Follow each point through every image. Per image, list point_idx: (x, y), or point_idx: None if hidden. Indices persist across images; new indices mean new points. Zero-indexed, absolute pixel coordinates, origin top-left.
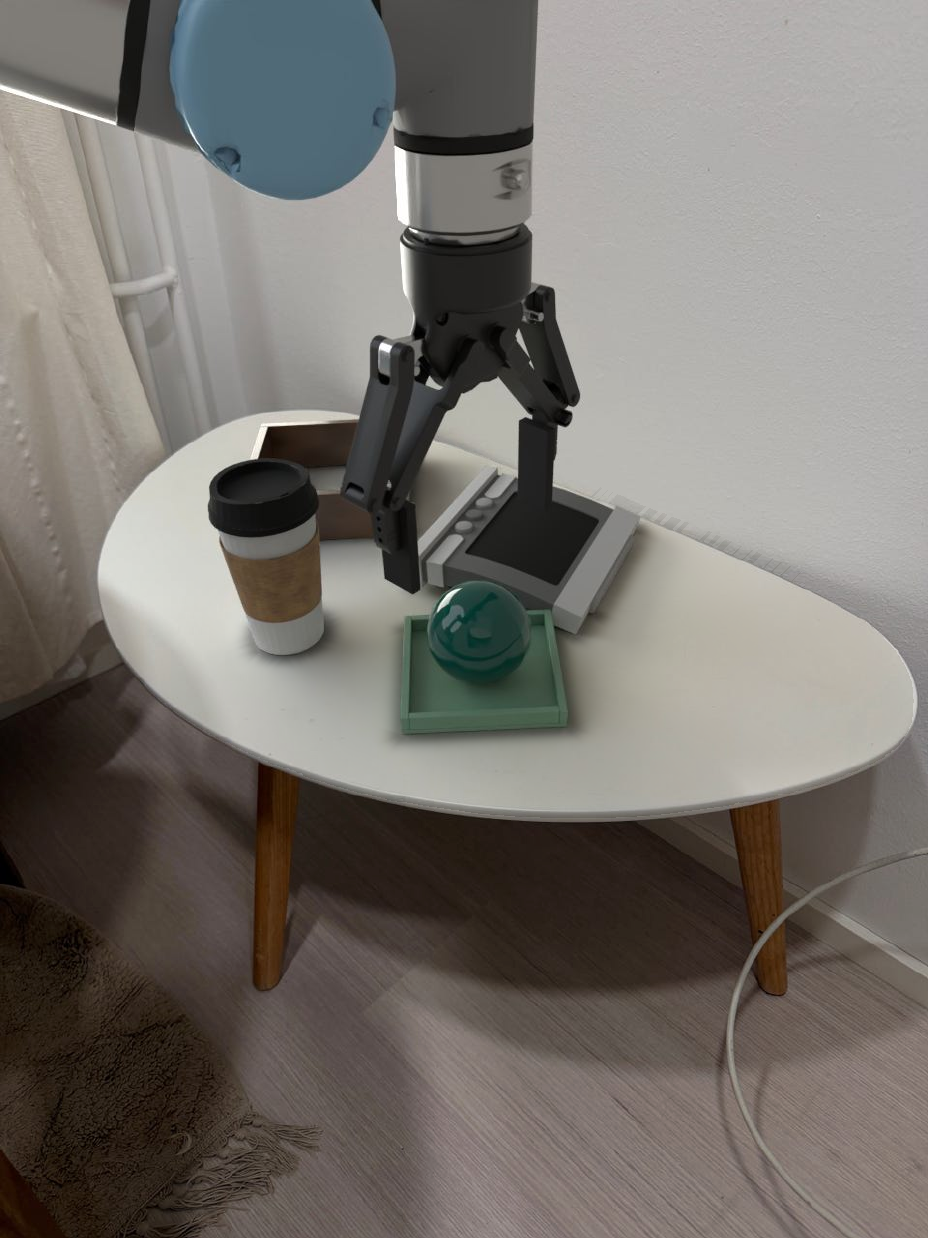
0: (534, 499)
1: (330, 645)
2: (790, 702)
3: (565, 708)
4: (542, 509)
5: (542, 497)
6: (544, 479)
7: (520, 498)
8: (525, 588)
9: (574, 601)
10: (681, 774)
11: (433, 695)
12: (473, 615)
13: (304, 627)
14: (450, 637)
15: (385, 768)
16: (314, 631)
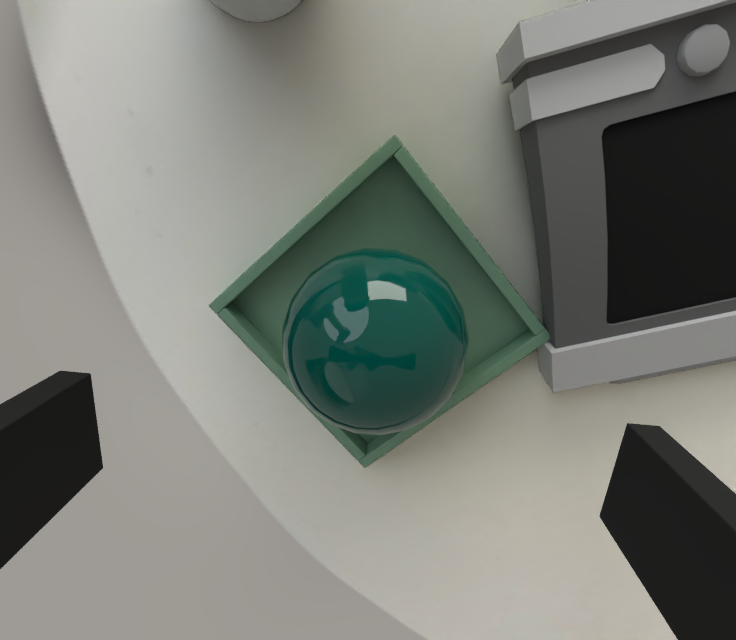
0: (624, 501)
1: (282, 49)
2: (551, 614)
3: (366, 464)
4: (604, 512)
5: (626, 543)
6: (667, 611)
7: (628, 440)
8: (563, 295)
9: (583, 368)
10: (380, 569)
11: (296, 290)
12: (319, 397)
13: (226, 2)
14: (284, 358)
15: (166, 319)
16: (257, 12)
